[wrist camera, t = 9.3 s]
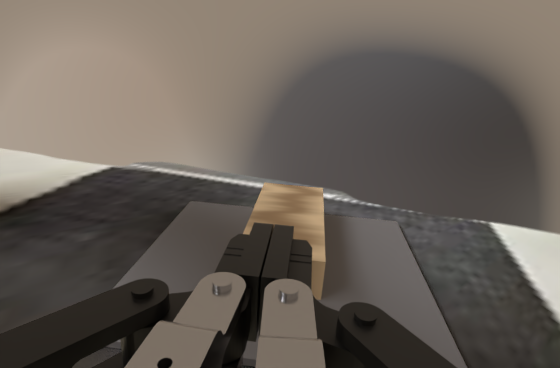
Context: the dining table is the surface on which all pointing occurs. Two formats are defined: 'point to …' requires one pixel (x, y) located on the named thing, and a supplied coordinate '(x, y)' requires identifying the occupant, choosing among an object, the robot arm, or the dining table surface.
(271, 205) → the oak card block
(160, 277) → the charcoal placemat
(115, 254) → the dining table surface
